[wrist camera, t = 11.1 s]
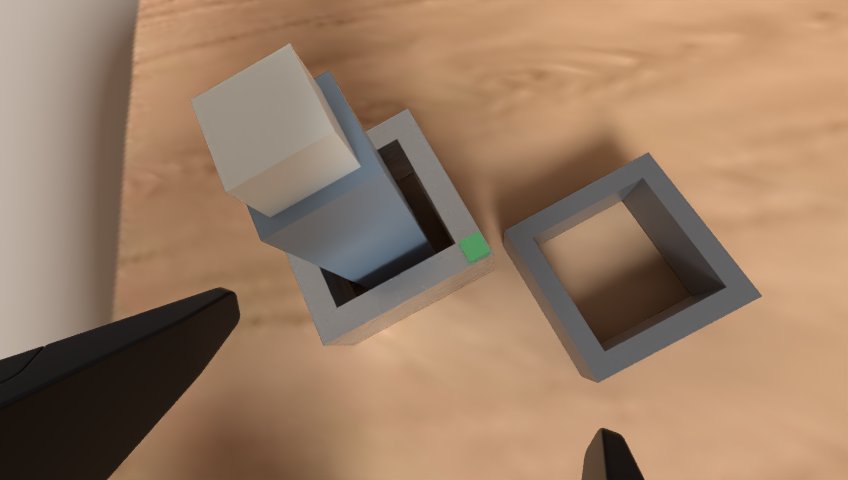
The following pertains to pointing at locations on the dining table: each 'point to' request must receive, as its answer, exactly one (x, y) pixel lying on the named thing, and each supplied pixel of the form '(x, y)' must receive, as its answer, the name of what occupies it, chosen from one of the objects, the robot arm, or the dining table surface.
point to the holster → (671, 234)
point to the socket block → (416, 287)
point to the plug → (309, 171)
